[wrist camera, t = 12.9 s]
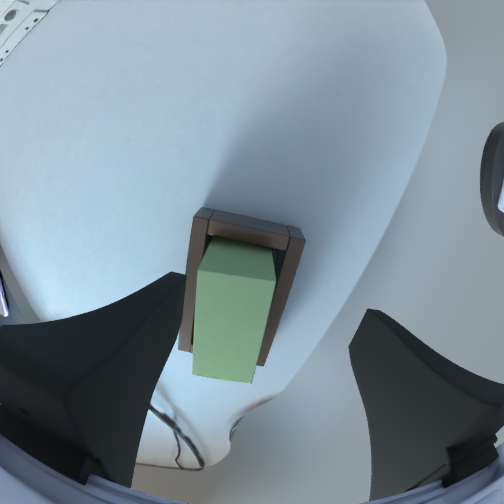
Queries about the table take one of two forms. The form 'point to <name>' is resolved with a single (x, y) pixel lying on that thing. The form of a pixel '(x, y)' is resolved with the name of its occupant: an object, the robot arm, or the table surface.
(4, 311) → the mobile phone
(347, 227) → the table surface
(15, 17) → the cassette
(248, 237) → the mounting base
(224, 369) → the block
